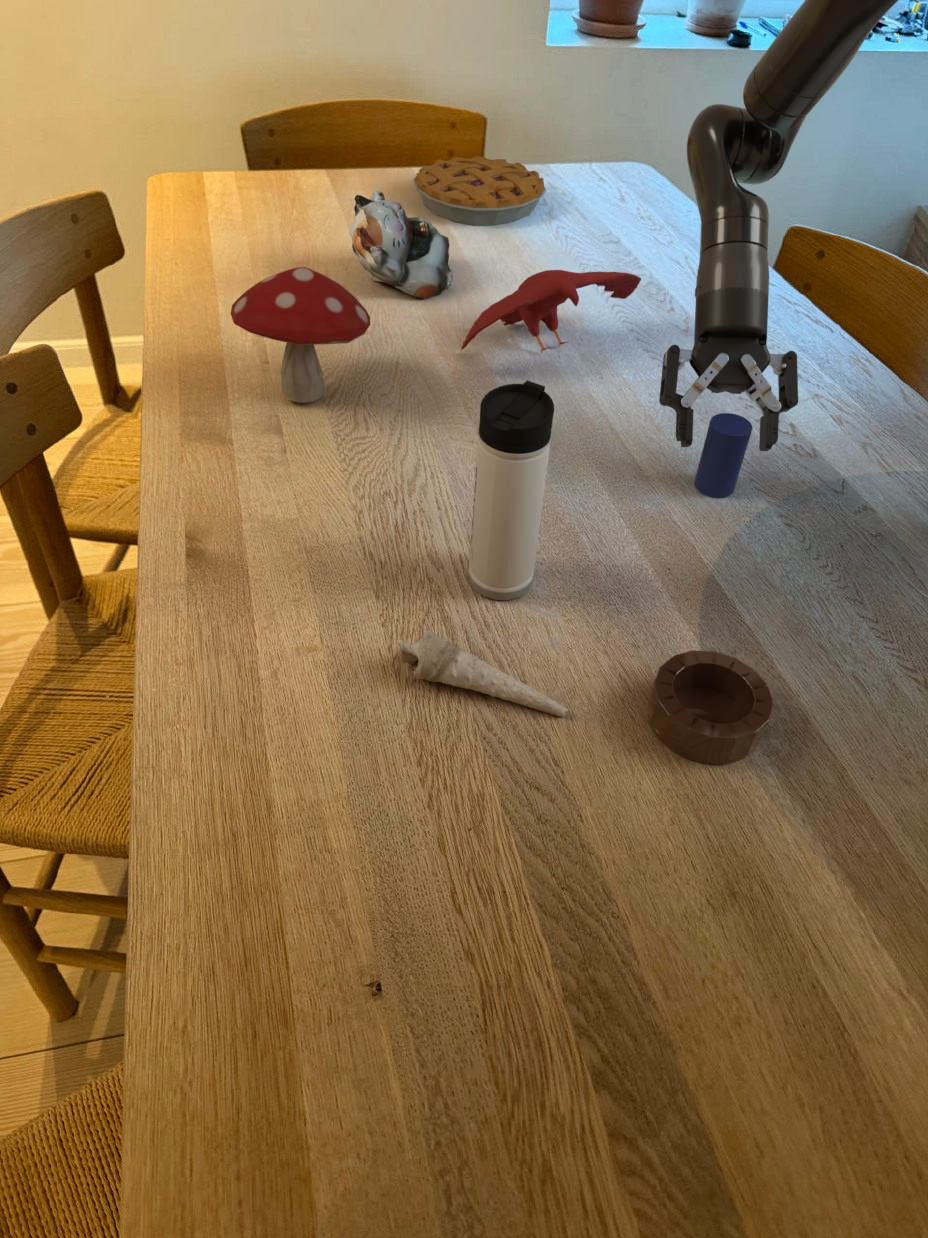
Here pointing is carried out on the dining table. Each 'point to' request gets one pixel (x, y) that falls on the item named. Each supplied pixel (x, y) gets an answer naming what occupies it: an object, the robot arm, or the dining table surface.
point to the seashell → (470, 673)
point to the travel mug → (509, 488)
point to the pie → (479, 190)
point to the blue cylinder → (722, 455)
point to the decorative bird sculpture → (549, 299)
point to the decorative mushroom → (301, 323)
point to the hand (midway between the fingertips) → (726, 447)
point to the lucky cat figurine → (400, 247)
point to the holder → (709, 707)
